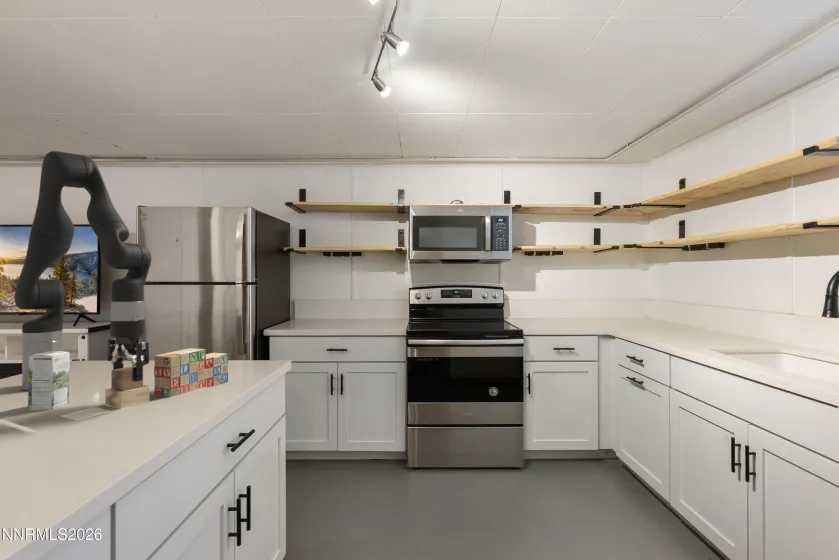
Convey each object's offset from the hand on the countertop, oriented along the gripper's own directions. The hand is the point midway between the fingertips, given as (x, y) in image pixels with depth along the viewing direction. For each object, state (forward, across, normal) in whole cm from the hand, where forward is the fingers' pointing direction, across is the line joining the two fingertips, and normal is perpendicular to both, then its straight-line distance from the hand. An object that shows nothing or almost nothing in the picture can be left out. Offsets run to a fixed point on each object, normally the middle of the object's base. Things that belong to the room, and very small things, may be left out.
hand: (127, 379), depth 109 cm
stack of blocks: (+7, 0, +19) cm, 20 cm away
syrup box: (+7, -15, -10) cm, 20 cm away
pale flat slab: (+7, -3, -4) cm, 9 cm away
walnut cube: (+2, 0, 0) cm, 2 cm away
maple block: (+6, 0, 0) cm, 6 cm away
